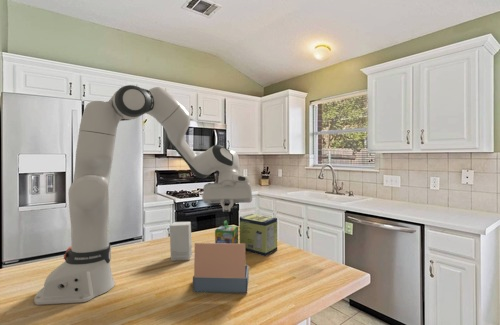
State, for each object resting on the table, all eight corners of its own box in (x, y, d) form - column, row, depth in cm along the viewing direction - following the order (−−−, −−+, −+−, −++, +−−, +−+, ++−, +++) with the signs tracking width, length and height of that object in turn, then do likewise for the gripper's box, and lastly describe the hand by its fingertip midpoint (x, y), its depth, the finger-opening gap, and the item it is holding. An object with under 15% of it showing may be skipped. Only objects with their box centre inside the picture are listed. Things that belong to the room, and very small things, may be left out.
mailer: (192, 292, 92) (192, 277, 92) (200, 277, 103) (200, 264, 103) (247, 293, 91) (247, 278, 91) (248, 278, 102) (248, 265, 102)
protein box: (251, 243, 142) (251, 213, 141) (277, 250, 132) (277, 217, 132) (238, 249, 133) (238, 217, 133) (266, 256, 124) (266, 222, 123)
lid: (194, 276, 91) (194, 277, 91) (194, 243, 92) (194, 243, 92) (245, 277, 91) (245, 278, 90) (245, 243, 91) (245, 244, 91)
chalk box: (234, 256, 124) (234, 223, 123) (214, 255, 126) (214, 222, 125) (239, 249, 133) (239, 219, 132) (220, 248, 135) (220, 218, 134)
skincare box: (192, 255, 125) (191, 221, 125) (189, 261, 119) (189, 225, 118) (173, 255, 125) (173, 221, 124) (169, 261, 118) (169, 225, 118)
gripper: (203, 178, 116) (198, 207, 106) (251, 177, 115) (251, 206, 106) (205, 187, 120) (201, 215, 111) (252, 186, 119) (252, 214, 110)
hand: (226, 210), depth 108 cm, fingers closed
